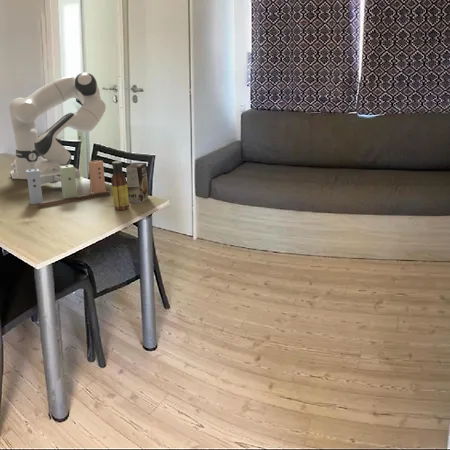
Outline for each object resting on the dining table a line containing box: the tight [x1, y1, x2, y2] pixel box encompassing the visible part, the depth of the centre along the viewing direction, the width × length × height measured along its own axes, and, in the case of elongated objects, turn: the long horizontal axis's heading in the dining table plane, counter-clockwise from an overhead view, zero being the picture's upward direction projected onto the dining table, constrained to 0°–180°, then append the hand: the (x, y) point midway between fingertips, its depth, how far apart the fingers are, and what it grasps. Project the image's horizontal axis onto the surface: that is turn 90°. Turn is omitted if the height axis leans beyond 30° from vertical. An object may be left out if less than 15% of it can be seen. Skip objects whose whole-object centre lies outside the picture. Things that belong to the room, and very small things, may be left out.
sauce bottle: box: [110, 160, 130, 211], centre depth 227 cm, size 6×6×20 cm
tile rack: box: [36, 190, 111, 209], centre depth 241 cm, size 14×35×3 cm, turn 126°
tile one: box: [60, 164, 78, 199], centre depth 238 cm, size 4×5×14 cm
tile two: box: [26, 169, 44, 205], centre depth 232 cm, size 4×5×14 cm
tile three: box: [87, 159, 106, 194], centre depth 247 cm, size 4×5×14 cm
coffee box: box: [125, 162, 149, 205], centre depth 238 cm, size 9×6×16 cm
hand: (63, 179), depth 244 cm, fingers closed
